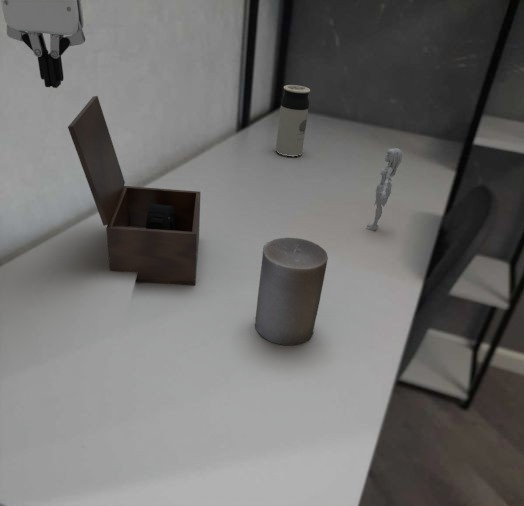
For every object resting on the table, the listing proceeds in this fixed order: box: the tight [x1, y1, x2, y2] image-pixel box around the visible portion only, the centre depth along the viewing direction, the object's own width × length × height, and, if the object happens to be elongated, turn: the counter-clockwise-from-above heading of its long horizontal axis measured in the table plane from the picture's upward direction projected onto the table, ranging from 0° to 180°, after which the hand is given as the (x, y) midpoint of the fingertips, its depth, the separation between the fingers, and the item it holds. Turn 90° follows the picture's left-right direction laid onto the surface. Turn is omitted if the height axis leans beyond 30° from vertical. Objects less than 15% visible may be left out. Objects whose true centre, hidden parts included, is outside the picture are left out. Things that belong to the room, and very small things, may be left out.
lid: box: [67, 95, 126, 227], centre depth 86 cm, size 15×19×1 cm
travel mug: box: [275, 84, 311, 155], centre depth 151 cm, size 8×8×18 cm
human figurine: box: [366, 147, 403, 231], centre depth 114 cm, size 12×4×18 cm, turn 163°
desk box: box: [105, 185, 201, 286], centre depth 95 cm, size 15×19×10 cm
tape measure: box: [145, 203, 175, 231], centre depth 95 cm, size 15×4×8 cm, turn 176°
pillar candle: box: [254, 237, 329, 346], centre depth 80 cm, size 10×10×15 cm
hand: (53, 85), depth 79 cm, fingers closed
